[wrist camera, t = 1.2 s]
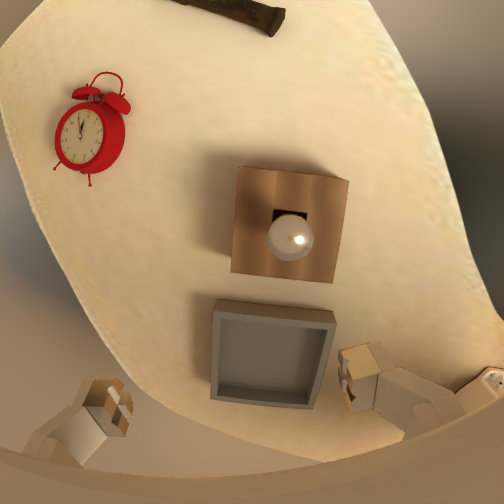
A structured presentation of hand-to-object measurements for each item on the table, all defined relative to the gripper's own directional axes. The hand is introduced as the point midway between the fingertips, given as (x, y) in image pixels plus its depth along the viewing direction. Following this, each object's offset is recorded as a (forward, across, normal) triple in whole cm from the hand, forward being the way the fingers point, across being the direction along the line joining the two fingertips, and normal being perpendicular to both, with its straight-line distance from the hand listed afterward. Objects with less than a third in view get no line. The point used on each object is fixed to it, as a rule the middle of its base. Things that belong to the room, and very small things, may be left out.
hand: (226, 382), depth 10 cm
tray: (+28, +1, -23) cm, 36 cm away
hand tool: (+33, +2, +26) cm, 42 cm away
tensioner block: (+29, +6, -3) cm, 30 cm away
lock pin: (+29, +6, -3) cm, 29 cm away
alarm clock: (+34, -17, +14) cm, 40 cm away
